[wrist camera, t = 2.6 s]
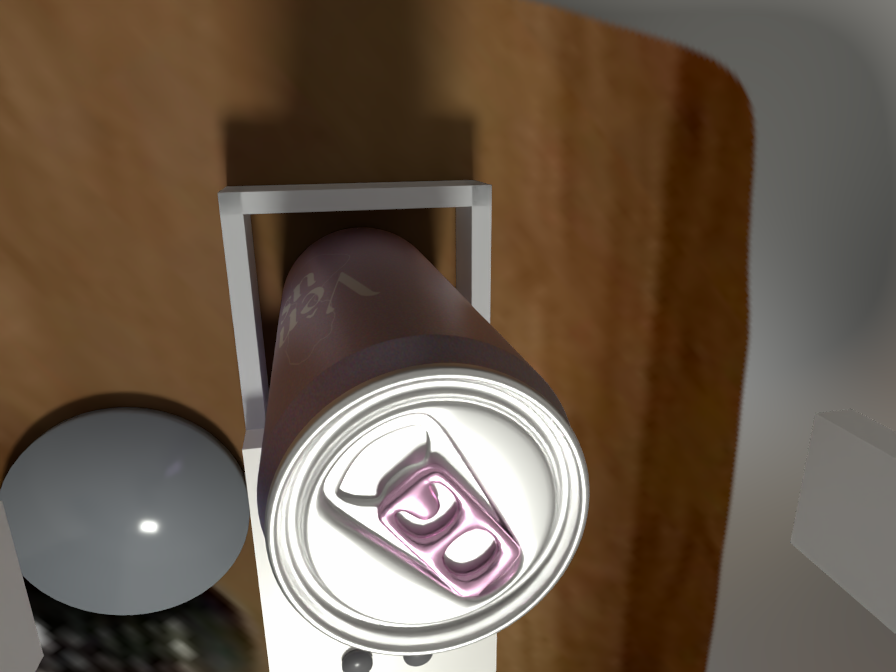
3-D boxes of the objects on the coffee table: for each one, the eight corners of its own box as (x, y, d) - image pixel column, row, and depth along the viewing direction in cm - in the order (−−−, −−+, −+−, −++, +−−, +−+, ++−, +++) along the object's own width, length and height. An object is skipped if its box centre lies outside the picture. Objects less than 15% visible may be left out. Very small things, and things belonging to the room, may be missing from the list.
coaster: (31, 620, 26) (25, 631, 25) (-22, 419, 23) (-30, 426, 22) (260, 586, 27) (259, 596, 27) (237, 396, 25) (235, 402, 24)
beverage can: (353, 401, 26) (413, 719, 12) (248, 295, 24) (166, 532, 10) (465, 307, 26) (660, 518, 12) (369, 191, 23) (466, 278, 9)
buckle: (471, 726, 33) (497, 816, 28) (293, 763, 31) (291, 864, 26) (473, 179, 24) (510, 189, 20) (226, 186, 22) (208, 199, 18)
